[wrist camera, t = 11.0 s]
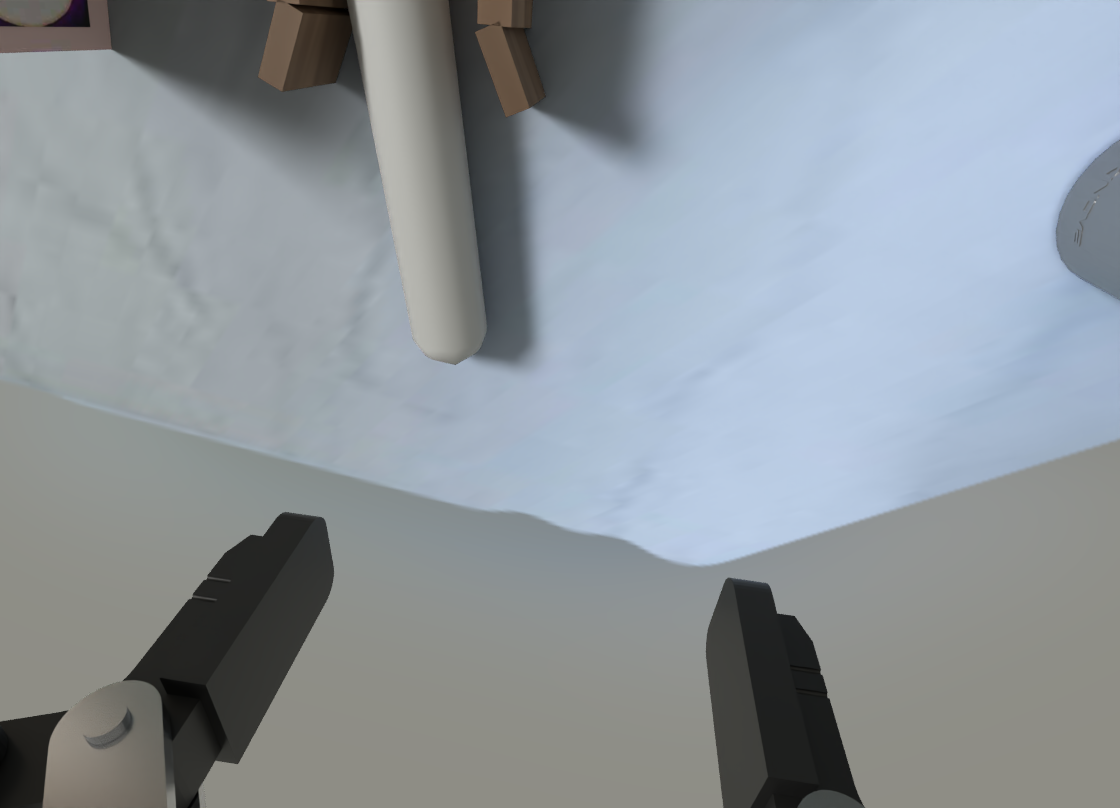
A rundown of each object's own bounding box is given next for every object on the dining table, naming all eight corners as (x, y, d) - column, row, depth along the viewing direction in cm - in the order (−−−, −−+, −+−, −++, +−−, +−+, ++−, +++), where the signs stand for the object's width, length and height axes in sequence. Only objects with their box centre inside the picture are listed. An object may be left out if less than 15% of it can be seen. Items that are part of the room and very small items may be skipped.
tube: (499, 371, 38) (440, -158, 24) (414, 383, 37) (304, -159, 23) (489, 335, 42) (434, -128, 29) (413, 346, 41) (320, -128, 28)
